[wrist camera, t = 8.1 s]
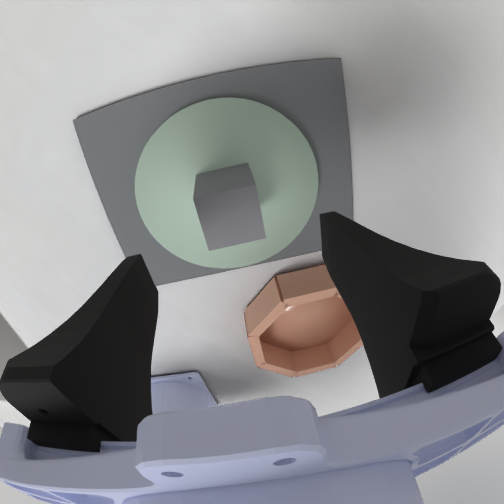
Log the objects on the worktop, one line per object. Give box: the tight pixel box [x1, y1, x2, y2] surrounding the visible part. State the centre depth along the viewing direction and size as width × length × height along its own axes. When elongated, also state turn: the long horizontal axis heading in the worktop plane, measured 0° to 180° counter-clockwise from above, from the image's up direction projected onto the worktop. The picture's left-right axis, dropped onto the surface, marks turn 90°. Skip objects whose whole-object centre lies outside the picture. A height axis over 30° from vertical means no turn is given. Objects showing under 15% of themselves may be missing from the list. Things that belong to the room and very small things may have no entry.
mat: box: [73, 58, 353, 286], centre depth 19 cm, size 16×13×1 cm
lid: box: [135, 97, 318, 269], centre depth 17 cm, size 11×11×4 cm
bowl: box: [244, 265, 363, 377], centre depth 25 cm, size 10×10×3 cm
